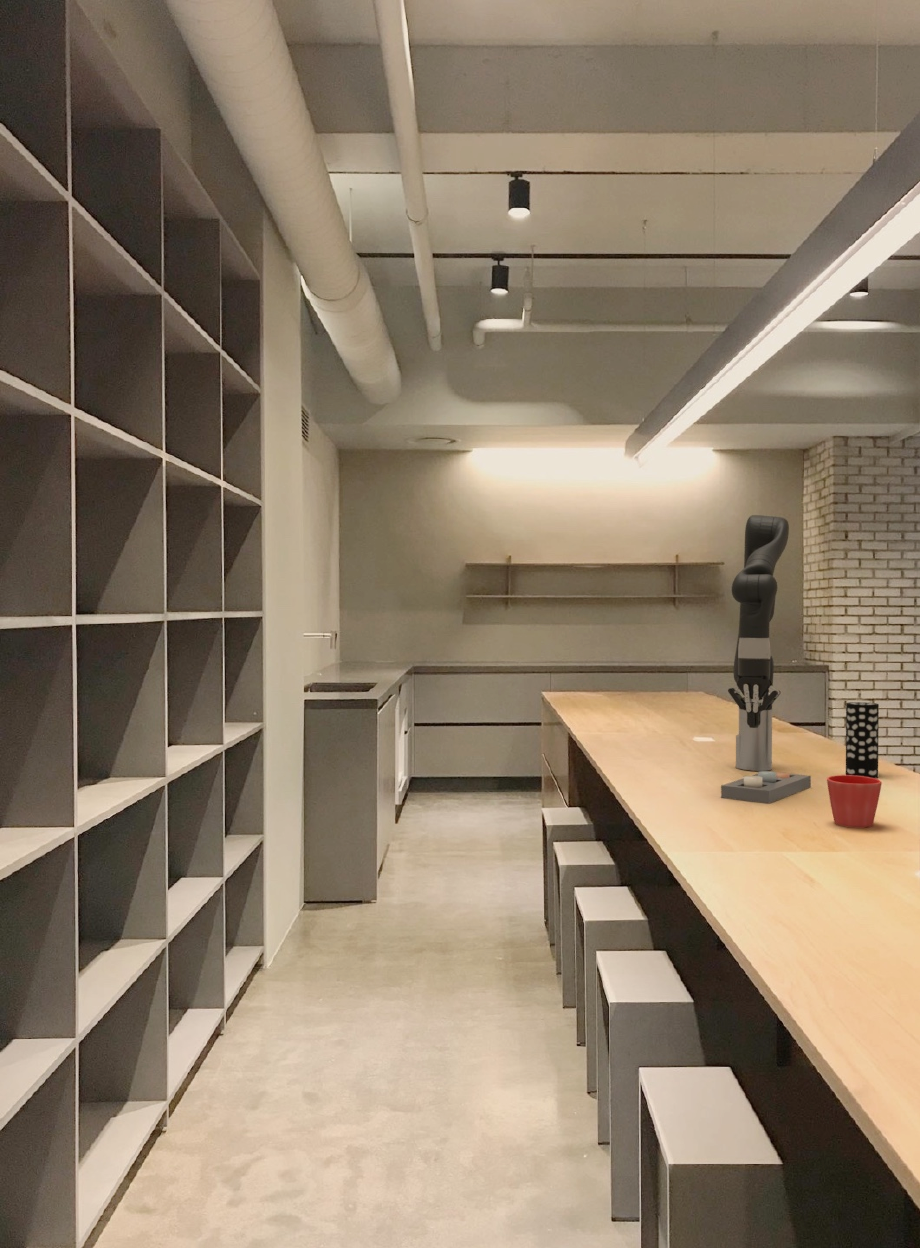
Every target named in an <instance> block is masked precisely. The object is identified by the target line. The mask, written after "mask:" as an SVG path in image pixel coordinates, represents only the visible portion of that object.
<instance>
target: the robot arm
mask: <svg viewBox="0 0 920 1248" xmlns="http://www.w3.org/2000/svg"><path fill="white" fill-rule="evenodd" d="M745 524H746V525H745V530H744V555H743V556H744V557H743V558H744V559H743V569H742V570H741V571H740V572H738V573H737V575H736V576H735V578H733V581H732V583H731V595H732V597H733V599H734V600H735V601H736V602H737V603H739V621H738V634H737V642H736V643H737V644H736V648H735V655H734V662H733V668H732V670H733V679H734V682H735V683H736V684H735V685H733V686H732V687H731V688H728V689H727V692H728V694H729V695H730V696H731V699H733V701H734V702H735V704H737V707H738V734H737V735H735V769H739V770H744V771H753V772H755V771H756V772H759V771H771V770H772V769H773V703H774V702H775V701H776V700H777V699H778V698H779V696H780V695H781V691H780V690H779V689H776V688H775V687H774V684H773V683H774V668H775V667H774V666H775V664H774V659H773V656H772V653H771V643H770V623H771V621H772V620H773V617H774V615H775V606H776V596H777V593H778V592H777V591H778V582H777V580H776V578H775V577H774V573H775V570H776V565H777V563H778V561H779V560H780V557H781V556H782V554H783V553H784V551H785V550H786V547H787V544H788V539H789V534H790V533H789V531H790V527H789V521H788V520H787V519H786V518H784V517H780V516H771V515H769V516H768V515H761V514H760V515H759V514H758V515H757V514H752V515H749V517H748V518H747V520H746V523H745ZM741 693H742V695H743V697H742V695H741Z"/></svg>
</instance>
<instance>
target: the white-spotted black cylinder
mask: <svg viewBox="0 0 920 1248" xmlns="http://www.w3.org/2000/svg"><path fill="white" fill-rule="evenodd" d="M879 708H880V705H879V703H874V702H864V701H863V702H859V701H857V702H856V701H854V702H853V701H851V702H846V703H845V775H854V776H863V777H870V778H875V779H878V778H879V732H880V731H879V729H880V728H879V723H880V722H879V721H880V720H879V717H880V716H879V713H880V712H879V710H880V709H879Z"/></svg>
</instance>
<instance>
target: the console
mask: <svg viewBox="0 0 920 1248" xmlns="http://www.w3.org/2000/svg"><path fill="white" fill-rule="evenodd" d="M787 773H788V772H787ZM788 774H790V778H779V777H776V783H768V782H762V788H754V787H745V786H744V777H743V778H740V779H737V780H733V781H731V782H728V783H725V784H722V785H721V786H720V790H721V791H720V797H721V799H729V800H737V801H746V802H752V803H761V804H772V803H774V802H776V801H780V800H782V799H784V798H788V797H789V796H792V795H794V794H797V793H799V792H800V793H801V792H802V791H805V790H807V789H809V788H811V777H812V776H811V775H807V774H797V773H788ZM751 776H758V773H755V774H752V775H751Z"/></svg>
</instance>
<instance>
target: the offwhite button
mask: <svg viewBox="0 0 920 1248" xmlns="http://www.w3.org/2000/svg"><path fill="white" fill-rule="evenodd" d="M743 778H744V786H745V787H754V788H762V777H760V776H752V775H744V776H743Z"/></svg>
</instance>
